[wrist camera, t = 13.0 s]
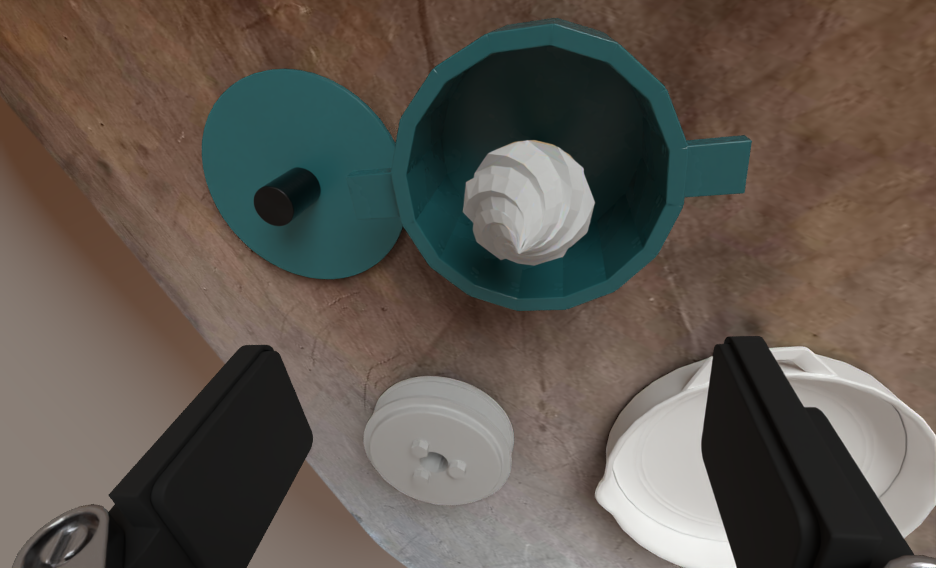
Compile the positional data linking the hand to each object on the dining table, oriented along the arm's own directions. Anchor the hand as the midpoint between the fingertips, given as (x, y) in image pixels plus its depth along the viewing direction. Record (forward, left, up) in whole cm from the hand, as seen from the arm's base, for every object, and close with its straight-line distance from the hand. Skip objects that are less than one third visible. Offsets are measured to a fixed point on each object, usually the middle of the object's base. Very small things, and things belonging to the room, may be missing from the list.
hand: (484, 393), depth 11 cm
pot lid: (+1, -16, -22) cm, 27 cm away
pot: (0, 0, -23) cm, 23 cm away
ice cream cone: (0, 0, -23) cm, 23 cm away
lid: (+24, -10, -23) cm, 35 cm away
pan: (+27, +15, -23) cm, 39 cm away
